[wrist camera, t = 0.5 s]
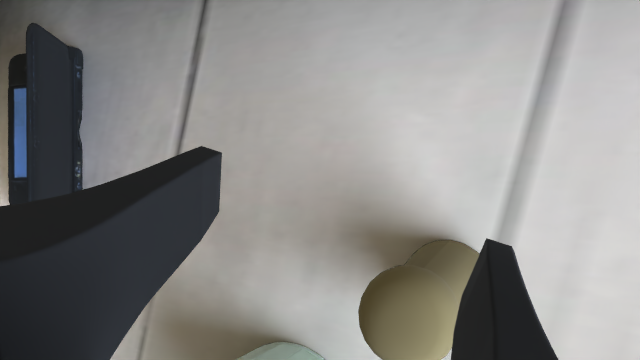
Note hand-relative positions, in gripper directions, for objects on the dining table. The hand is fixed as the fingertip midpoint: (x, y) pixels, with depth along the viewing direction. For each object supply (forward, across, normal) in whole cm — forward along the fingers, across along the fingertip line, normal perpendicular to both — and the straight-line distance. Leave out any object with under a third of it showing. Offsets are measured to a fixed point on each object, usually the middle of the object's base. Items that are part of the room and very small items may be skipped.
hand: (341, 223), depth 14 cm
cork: (+17, -5, +16) cm, 24 cm away
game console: (+25, +32, +21) cm, 46 cm away
